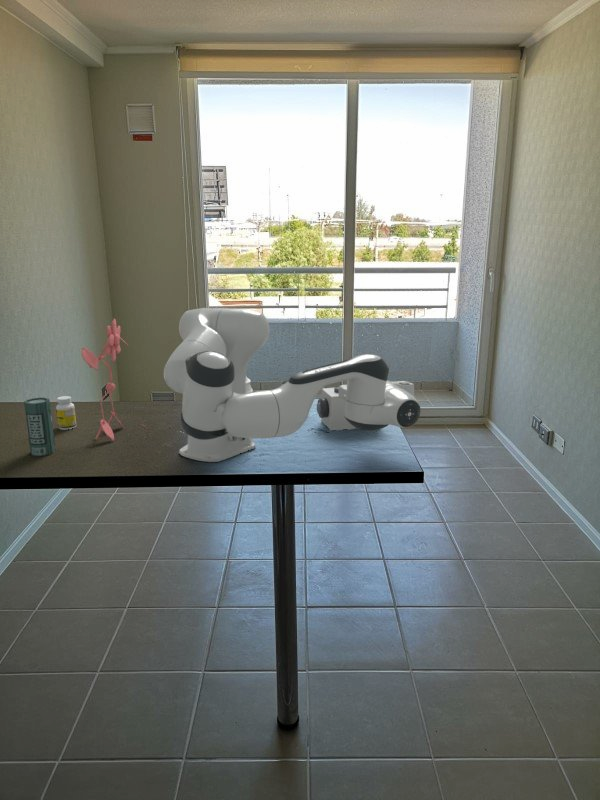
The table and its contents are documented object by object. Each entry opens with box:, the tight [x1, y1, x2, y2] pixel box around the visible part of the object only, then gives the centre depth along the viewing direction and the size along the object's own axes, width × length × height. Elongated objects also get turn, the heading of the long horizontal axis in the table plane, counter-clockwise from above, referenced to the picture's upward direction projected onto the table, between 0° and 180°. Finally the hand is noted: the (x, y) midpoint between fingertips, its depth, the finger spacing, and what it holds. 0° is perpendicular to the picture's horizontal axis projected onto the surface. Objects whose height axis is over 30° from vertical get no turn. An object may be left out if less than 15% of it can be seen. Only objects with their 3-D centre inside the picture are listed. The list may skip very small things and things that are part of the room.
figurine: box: [81, 318, 149, 446], centre depth 176 cm, size 15×26×35 cm, turn 179°
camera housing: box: [316, 386, 359, 431], centre depth 188 cm, size 10×19×12 cm, turn 105°
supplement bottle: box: [55, 395, 77, 431], centre depth 185 cm, size 5×5×10 cm
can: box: [23, 397, 56, 457], centre depth 164 cm, size 6×6×15 cm
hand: (365, 384), depth 172 cm, fingers closed on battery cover, 5 cm apart
